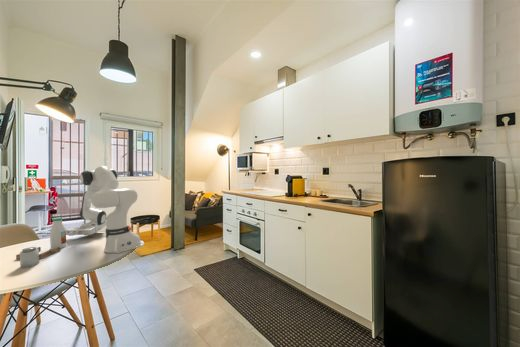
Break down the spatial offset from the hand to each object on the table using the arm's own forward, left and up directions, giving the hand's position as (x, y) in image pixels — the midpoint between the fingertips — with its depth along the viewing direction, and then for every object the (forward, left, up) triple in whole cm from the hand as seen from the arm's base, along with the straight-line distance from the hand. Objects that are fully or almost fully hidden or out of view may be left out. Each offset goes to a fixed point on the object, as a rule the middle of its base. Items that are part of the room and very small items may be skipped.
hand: (70, 234), depth 151 cm
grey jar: (+15, +33, -6) cm, 36 cm away
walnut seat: (+13, +16, -6) cm, 21 cm away
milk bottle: (+6, +7, -6) cm, 11 cm away
